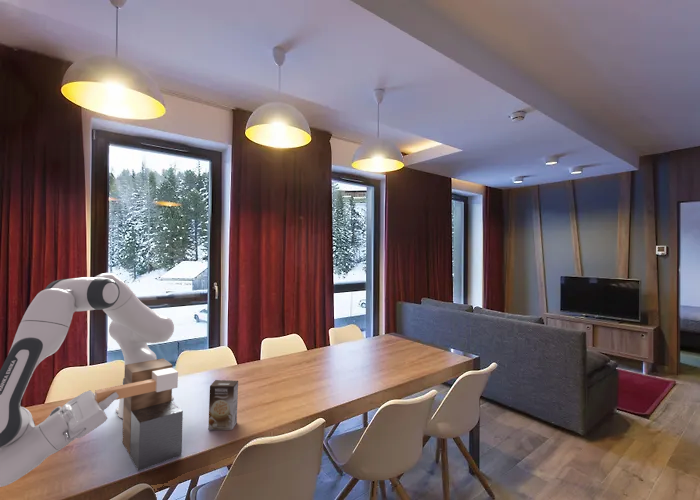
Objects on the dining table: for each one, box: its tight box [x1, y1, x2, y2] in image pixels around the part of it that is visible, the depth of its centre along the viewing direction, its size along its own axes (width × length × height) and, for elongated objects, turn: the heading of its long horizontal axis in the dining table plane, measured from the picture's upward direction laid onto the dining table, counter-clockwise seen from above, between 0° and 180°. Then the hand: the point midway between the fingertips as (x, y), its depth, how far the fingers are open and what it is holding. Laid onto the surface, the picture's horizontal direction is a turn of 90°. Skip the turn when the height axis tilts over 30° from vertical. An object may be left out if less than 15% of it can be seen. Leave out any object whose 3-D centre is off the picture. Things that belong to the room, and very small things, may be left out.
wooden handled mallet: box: [94, 367, 179, 403], centre depth 106 cm, size 21×6×5 cm, turn 134°
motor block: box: [129, 400, 184, 472], centre depth 109 cm, size 12×10×14 cm
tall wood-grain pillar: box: [121, 357, 174, 456], centre depth 117 cm, size 12×10×26 cm
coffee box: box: [207, 379, 239, 431], centre depth 129 cm, size 9×6×16 cm
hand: (115, 391), depth 102 cm, fingers closed on wooden handled mallet, 3 cm apart
